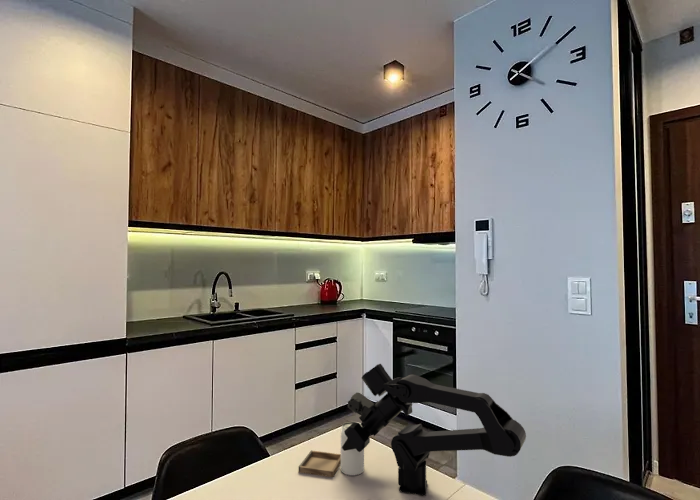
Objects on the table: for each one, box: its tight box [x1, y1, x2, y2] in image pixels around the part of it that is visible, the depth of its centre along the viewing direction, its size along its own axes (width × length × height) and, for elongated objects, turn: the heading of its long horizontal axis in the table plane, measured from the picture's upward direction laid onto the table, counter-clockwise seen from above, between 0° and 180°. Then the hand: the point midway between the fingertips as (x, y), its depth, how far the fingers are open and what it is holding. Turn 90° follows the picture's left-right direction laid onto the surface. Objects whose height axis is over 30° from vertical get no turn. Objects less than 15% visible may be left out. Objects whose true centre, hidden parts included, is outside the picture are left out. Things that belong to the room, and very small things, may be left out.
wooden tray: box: [298, 450, 341, 478], centre depth 107 cm, size 10×10×2 cm
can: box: [340, 421, 365, 477], centre depth 105 cm, size 6×6×12 cm
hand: (347, 444), depth 106 cm, fingers closed on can, 6 cm apart
